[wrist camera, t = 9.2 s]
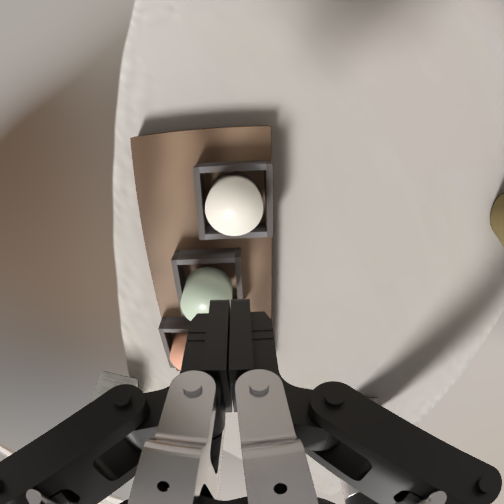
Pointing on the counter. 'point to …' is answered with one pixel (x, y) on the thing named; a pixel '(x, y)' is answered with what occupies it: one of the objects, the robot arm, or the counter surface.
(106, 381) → the product box
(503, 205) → the squeeze bottle
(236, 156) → the button panel
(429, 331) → the counter surface
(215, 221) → the cream button
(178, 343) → the terracotta button
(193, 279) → the sage button
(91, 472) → the robot arm
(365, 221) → the counter surface
